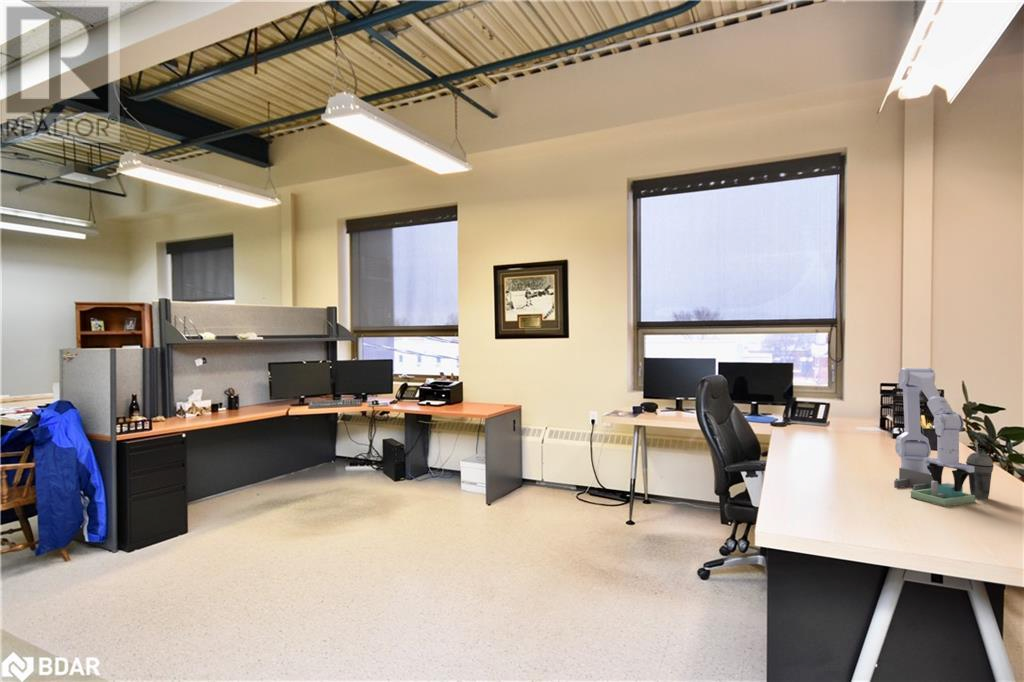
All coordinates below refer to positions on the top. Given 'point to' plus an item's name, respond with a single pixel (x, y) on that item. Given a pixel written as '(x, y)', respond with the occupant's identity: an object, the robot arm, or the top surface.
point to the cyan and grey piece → (944, 490)
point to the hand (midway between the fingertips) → (947, 488)
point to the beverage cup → (980, 474)
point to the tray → (926, 496)
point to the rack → (913, 479)
